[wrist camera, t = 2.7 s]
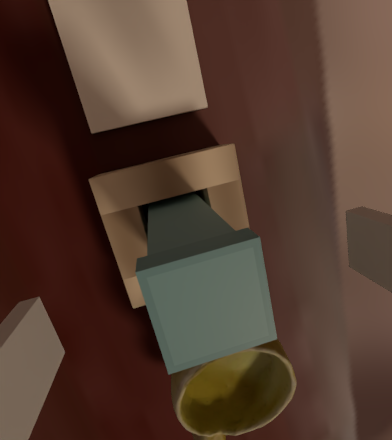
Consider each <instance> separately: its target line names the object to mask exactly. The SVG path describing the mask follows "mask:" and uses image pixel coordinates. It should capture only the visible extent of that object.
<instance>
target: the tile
mask: <svg viewBox="0 0 392 440" xmlns="http://www.w3.org/2000/svg"><path fill="white" fill-rule="evenodd" d="M48 2H49V5H50V8H51V11H52V14H53V17H54V20H55V23H56V26H57V29H58V32H59V36H60V39H61V42H62V45H63V48H64V51H65V54H66V57H67V60H68V63H69V66H70V69H71V72H72V75H73V78H74V81H75V85H76V88H77V91H78V94H79V97H80V100H81V103H82V106H83V109H84V112H85V115H86V118H87V121H88V124H89V127H90V131H91V133H92V134H95V133H99V132H104V131H108V130H112V129H117V128H121V127H125V126H130V125H134V124H139V123H143V122H147V121H152V120H156V119H161V118H165V117H169V116H174V115H178V114H182V113H187V112H191V111H196V110H200V109H204V108H207V107H208V106H207V101H206V96H205V91H204V86H203V81H202V76H201V71H200V66H199V61H198V56H197V51H196V46H195V41H194V36H193V31H192V26H191V21H190V16H189V11H188V6H187V1H186V0H48Z"/></svg>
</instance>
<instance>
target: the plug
mask: <svg viewBox="0 0 392 440" xmlns="http://www.w3.org/2000/svg"><path fill="white" fill-rule="evenodd" d="M135 273H136V276H137V279H138V282H139V285H140V289H141V292H142V295H143V298H144V301H145V304H146V307H147V310H148V313H149V316H150V319H151V322H152V325H153V328H154V331H155V334H156V337H157V340H158V343H159V346H160V349H161V352H162V356H163V359H164V362H165V365H166V368H167V371H168V374H172V373H176V372H179V371H182V370H185V369H188V368H191V367H194V366H197V365H200V364H203V363H206V362H209V361H212V360H215V359H218V358H221V357H224V356H227V355H230V354H233V353H237V352H240V351H243V350H246V349H249V348H252V347H255V346H258V345H261V344H264V343H267V342H270V341H273V340H276V339H277V335H276V329H275V323H274V317H273V312H272V306H271V300H270V294H269V288H268V282H267V276H266V270H265V265H264V259H263V253H262V247H261V241H260V237H259V236H258V235H257V234H255V233H254V232H253V231H252V230H250V229H249V228H244V229H240V230H237V231H235V230H234V229H233V228H232V227H231V226H230V225H229V224H228V223H227V222H226V221H225V220H223V219H222V218H221V217H220V216H219V215H218V214H217V213H216V212H215V211H214V210H213V209H212V208H211V207H210V206H209V205H207V204H206V203H205V202H204V201H203V200H202V199H201V198H200V197H199V196H198V195H197V194H196V193H195V192H194V191H193V192H189V193H186V194H182V195H178V196H174V197H170V198H166V199H162V200H159V201H155V202H151V203H148V240H147V256H144V257H140V258H137V262H136V270H135Z"/></svg>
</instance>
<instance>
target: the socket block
mask: <svg viewBox="0 0 392 440" xmlns="http://www.w3.org/2000/svg"><path fill="white" fill-rule="evenodd" d="M88 180H89V183H90V186H91V189H92V191H93V194H94V197H95V200H96V203H97V206H98V209H99V212H100V215H101V217H102V220H103V223H104V226H105V229H106V232H107V235H108V238H109V241H110V243H111V246H112V249H113V252H114V255H115V258H116V261H117V264H118V267H119V270H120V272H121V275H122V278H123V281H124V284H125V287H126V290H127V293H128V296H129V298H130V301H131V304H132V307H133V309H134V308H137V307H141V306H144V305H146V304H145V301H144V298H143V295H142V292H141V289H140V285H139V282H138V279H137V276H136V273H135V270H136V262H137V258H140V257H144V256H147V240H148V224H147V221H146V217H145V214H144V211H143V207H142V205H143V204H147V203H151V202H155V201H159V200H162V199H166V198H170V197H174V196H178V195H182V194H186V193H189V192H193V191H197V190H199V191H200V196H201V199H202V200H203V201H204V202H205V203H206V204H207V205H209V206H210V207H211V208H212V209H213V210H214V211H215V212H216V213H217V214H218V215H219V216H220V217H221V218H222V219H223V220H225V221H226V222H227V223H228V224H229V225H230V226H231V227H232V228H233V229H234V230H235V231H237V230H240V229H244V228H249V223H248V217H247V212H246V206H245V201H244V195H243V190H242V184H241V178H240V173H239V167H238V162H237V156H236V151H235V145H234V144H223V145H217V146H213V147H209V148H204V149H200V150H196V151H192V152H188V153H184V154H180V155H176V156H172V157H168V158H163V159H159V160H155V161H151V162H147V163H143V164H139V165H135V166H131V167H127V168H123V169H118V170H114V171H110V172H106V173H102V174H99V175H96V176H94V177H92V178H90V179H88ZM249 229H250V228H249Z"/></svg>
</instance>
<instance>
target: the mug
mask: <svg viewBox="0 0 392 440" xmlns="http://www.w3.org/2000/svg"><path fill="white" fill-rule="evenodd" d="M295 388H296V378H295V374H294V371H293V368H292V365H291V363H290V361H289V359H288V357H287V355H286V353H285V351H284V349H283V347H282V345H281V343H280V342H279V340H278V339H276V340H273V341H270V342H267V343H264V344H261V345H258V346H255V347H252V348H249V349H246V350H243V351H240V352H237V353H233V354H230V355H227V356H224V357H221V358H218V359H215V360H212V361H209V362H206V363H203V364H200V365H197V366H194V367H191V368H188V369H185V370H182V371H179V372H176V373H172V374H171V395H172V402H173V407H174V411H175V413H176V416H177V418H178V420H179V421H180V423H181V424H182V425H183V427H184V428H185V429H187V430H188V431H190V432H192V435H193V438H194V440H226V436H225V435H240V434H243V433H246V432H249V431H253V430H255V429H256V428H261V427H263V426H264V425H266V424H267V423H269V422H271V421H272V420H273V419H274V418H275V417H277V416H278V415H279V414H280V413H281V412H282V411H283V409H284V408H285V407H286V406H287V404H288V403H289V402H290V400H291V399H292V397H293V396H294V392H295Z"/></svg>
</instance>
